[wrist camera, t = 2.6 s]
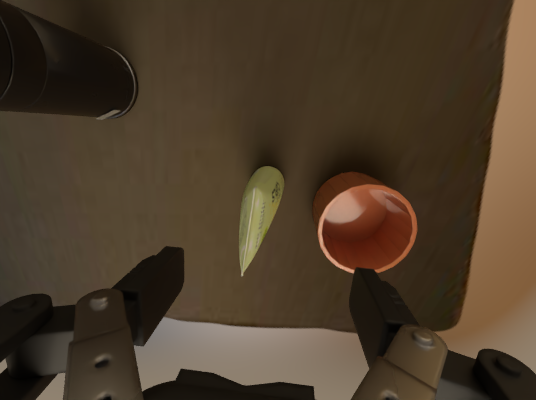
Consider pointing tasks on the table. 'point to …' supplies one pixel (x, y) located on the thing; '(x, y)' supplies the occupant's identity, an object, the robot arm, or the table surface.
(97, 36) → the table surface
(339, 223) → the pen cup
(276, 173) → the tube
